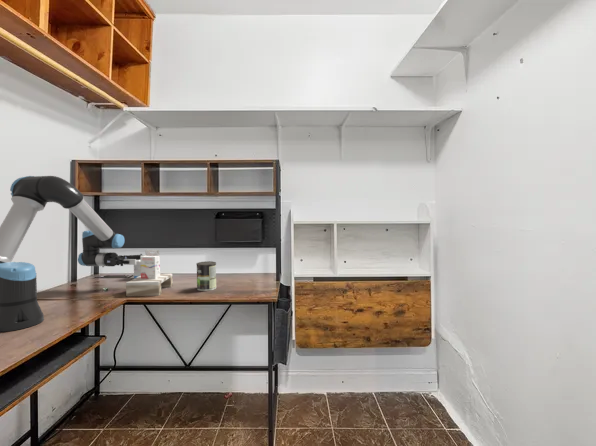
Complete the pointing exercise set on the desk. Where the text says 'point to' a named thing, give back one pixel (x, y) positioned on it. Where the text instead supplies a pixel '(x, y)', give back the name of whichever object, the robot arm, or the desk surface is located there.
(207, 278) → the coffee can
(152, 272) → the ink cartridge box
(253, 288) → the desk surface
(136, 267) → the ink box
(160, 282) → the shelf bridge
